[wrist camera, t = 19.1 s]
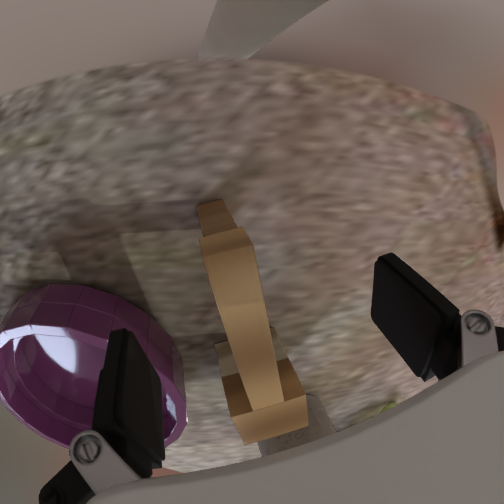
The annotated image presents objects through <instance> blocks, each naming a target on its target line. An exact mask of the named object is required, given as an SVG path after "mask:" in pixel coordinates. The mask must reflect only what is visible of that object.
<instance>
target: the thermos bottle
mask: <svg viewBox="0 0 504 504" xmlns="http://www.w3.org/2000/svg"><path fill="white" fill-rule="evenodd" d="M306 401H307V413H308V426H305V427H303V428H300V429H297V430H294V431H291V432H288V433H285V434H282V435H279V436H275V437H272V438H269V439H265V440H262V441H258V446H259V449H260V451H261V454H262V457H264V456H267V455H271V454H274V453H278V452H281V451H285V450H288V449H291V448H294V447H297V446H300V445H303V444H306V443H309V442H312V441H315V440H318V439H320V438H323V437H326V436H328V435H331V434H334V433H336V430H335V428H334V426H333V424H332V422H331V421H330V419H329V417H328V415H327V413H326V411H325V409H324V407H323V405H322V403H321V401H320V400H319V399H318V398H317V397H315V396H312V395H306Z"/></svg>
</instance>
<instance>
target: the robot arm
mask: <svg viewBox="0 0 504 504" xmlns="http://www.w3.org/2000/svg"><path fill="white" fill-rule="evenodd" d="M459 311H460V310H459V309H458V308H457V307H456V306H454V305H453V304H452V303H451V302H450V301H449V300H448V299H447V298H446V297H445V296H443V295H442V294H441V293H440V292H439V291H438V290H437V289H435V288H434V287H433V286H432V285H431V284H430V283H429V282H427V281H426V280H425V279H424V278H423V277H422V276H420V275H419V274H418V273H417V272H416V271H414V270H413V269H412V268H411V267H410V266H408V265H407V264H406V263H405V262H404V261H402V260H401V259H400V258H399V257H397V256H396V255H395V254H394V253H388V254H385V255H382V256H380V257H378V259H377V261H376V262H375V265H374V281H373V294H372V306H371V317H372V320H373V322H374V323H375V324H376V325H377V327H378V328H379V329H380V330H381V332H382V333H383V334H384V335H385V337H386V338H387V339H388V340H389V342H390V343H391V344H392V345H393V347H394V348H395V349H396V351H397V352H398V353H399V354H400V356H401V357H402V358H403V359H404V361H405V362H406V363H407V365H408V366H409V367H410V369H411V370H412V371H413V372H414V374H415V375H416V376H417V377H421V378H422V379H423V381H424V382H425V381H427V380H429V379H431V378H432V377H434V376H435V375H436V377H437V378H438V382H437V383H435V384H434V385H432V386H430V387H429V388H427V389H425V390H423V391H422V392H420V393H418V394H416V395H414V396H413V397H411V398H409V399H407V400H405V401H403V402H402V403H400V404H398V405H396V406H394V407H392V408H390V409H388V410H386V411H384V412H382V413H380V414H377V415H375V416H373V417H371V418H369V419H367V420H364V421H362V422H360V423H358V424H355V425H353V426H351V427H348V428H346V429H344V430H341V431H339V432H336V433H334V434H331V435H328V436H326V437H323V438H320V439H318V440H315V441H312V442H309V443H306V444H303V445H300V446H297V447H294V448H291V449H288V450H285V451H281V452H278V453H274V454H271V455H267V456H264V457H260V458H256V459H252V460H248V461H244V462H240V463H235V464H231V465H226V466H221V467H216V468H211V469H205V470H200V471H194V472H188V473H182V474H175V475H167V476H161V477H154V478H153V477H152V476H151V475H152V469H156V468H162V460H165V447H164V432H163V414H162V385H161V380H160V377H159V375H158V374H157V372H156V370H155V369H154V367H153V365H152V364H151V362H150V361H149V359H148V357H147V356H146V354H145V352H144V350H143V349H142V347H141V345H140V344H139V342H138V340H137V338H136V337H135V335H134V333H133V332H132V331H128V330H127V329H126V328H122V329H117V330H113V331H111V332H110V335H109V340H108V345H107V350H106V355H105V361H104V367H103V369H101V371H100V374H99V379H98V385H97V392H96V398H95V405H94V413H93V421H92V430H86V431H82V432H80V433H79V434H77V435H76V436H75V437H74V438H73V439H72V441H71V443H70V447H69V456H70V458H71V461H70V462H69V463H68V464H67V465H65V467H63V469H61V470H60V471H59V472H58V473H57V474H56V475H55V476H54V477H53V478H52V479H51V480H50V481H49V482H48V483H47V484H46V485H44V487H43V488H42V489H41V491H40V494H39V504H504V328H503V327H496V326H495V325H494V322H493V320H492V318H491V317H490V316H489V315H488V314H487V313H485V312H483V311H480V310H469V311H466V312H465V313H464V314H463V315H462V316H461V315H460V314H459Z"/></svg>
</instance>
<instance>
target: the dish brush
mask: <svg viewBox="0 0 504 504" xmlns="http://www.w3.org/2000/svg"><path fill="white" fill-rule="evenodd" d="M197 211H198V216H199V221H200V225H201V230H202V234H203V237H202V238H199V242H200V247H201V252H202V257H203V261H204V265H205V268H206V271H207V275H208V278H209V281H210V285H211V288H212V291H213V294H214V298H215V301H216V304H217V307H218V310H219V313H220V317H221V320H222V323H223V326H224V329H225V332H226V335H227V338H228V341H225V342H221V343H217V344H215V350H216V354H217V359H218V364H219V368H220V373H221V377H222V382H223V386H224V391H225V395H226V399H227V403H228V408H229V412H230V416H231V419H232V421H233V423H234V425H235V426H236V428H237V430H238V432H239V434H240V436H241V438H242V440H243V442H244V444H245V445H247V444H251V443H255V442H258V441H262V440H265V439H269V438H272V437H275V436H279V435H282V434H285V433H288V432H291V431H294V430H297V429H300V428H303V427H305V426H308V413H307V401H306V393H305V391H304V389H303V387H302V385H301V383H300V381H299V379H298V377H297V375H296V373H295V371H294V368H293V366H292V364H291V362H290V360H289V358H288V356H287V354H286V352H285V350H284V348H283V346H282V343H281V341H280V339H279V337H278V335H277V333H276V331H275V329H274V327H273V328H270V327H269V322H268V317H267V312H266V307H265V302H264V297H263V292H262V287H261V282H260V277H259V272H258V267H257V262H256V257H255V252H254V247H253V244H252V242H251V240H250V239H249V237H248V235H247V234H246V232H245V230H244V229H243V227H239V228H238V227H237V225H236V223H235V222H234V220H233V218H232V216H231V214H230V213H229V211H228V209H227V207H226V205H225V203H224V202H223V200H222V199H220V200H216V201H212V202H208V203H204V204H201V205H197Z"/></svg>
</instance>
